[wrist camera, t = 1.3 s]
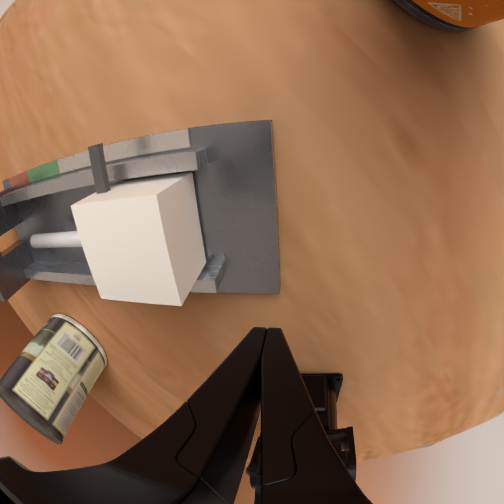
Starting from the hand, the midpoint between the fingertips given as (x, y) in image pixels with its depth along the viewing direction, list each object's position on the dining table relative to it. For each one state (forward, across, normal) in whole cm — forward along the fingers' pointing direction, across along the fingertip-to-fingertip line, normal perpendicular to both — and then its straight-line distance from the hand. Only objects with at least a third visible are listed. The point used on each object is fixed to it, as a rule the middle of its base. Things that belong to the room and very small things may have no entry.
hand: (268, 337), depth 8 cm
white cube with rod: (+10, +13, -2) cm, 17 cm away
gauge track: (+12, +14, 0) cm, 19 cm away
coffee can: (+12, +28, +17) cm, 34 cm away
